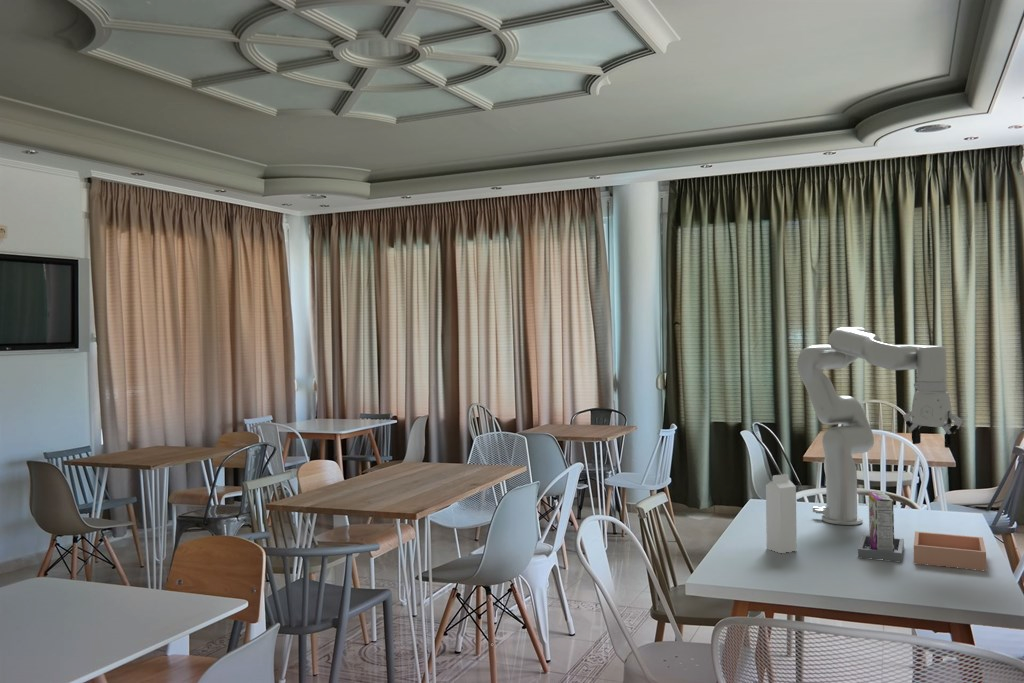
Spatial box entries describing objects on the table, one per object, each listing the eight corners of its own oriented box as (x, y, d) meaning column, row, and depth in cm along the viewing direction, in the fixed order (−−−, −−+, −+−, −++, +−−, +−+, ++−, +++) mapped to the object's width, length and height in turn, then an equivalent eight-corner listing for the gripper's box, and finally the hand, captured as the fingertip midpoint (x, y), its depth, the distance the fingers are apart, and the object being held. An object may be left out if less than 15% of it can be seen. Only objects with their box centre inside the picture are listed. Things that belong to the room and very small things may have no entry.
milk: (796, 551, 233) (796, 475, 233) (780, 554, 231) (780, 477, 231) (782, 546, 239) (781, 472, 239) (765, 548, 236) (765, 473, 236)
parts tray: (858, 557, 226) (857, 548, 226) (862, 543, 241) (862, 535, 241) (901, 562, 221) (901, 553, 221) (903, 547, 236) (903, 538, 236)
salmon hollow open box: (913, 563, 219) (913, 545, 219) (915, 548, 234) (915, 531, 234) (986, 571, 211) (986, 552, 211) (982, 555, 226) (982, 537, 226)
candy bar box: (868, 547, 237) (867, 491, 237) (886, 547, 236) (886, 491, 235) (875, 557, 226) (875, 499, 226) (895, 558, 225) (894, 499, 225)
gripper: (896, 386, 243) (897, 443, 243) (954, 389, 228) (954, 450, 228) (911, 385, 247) (911, 441, 247) (968, 388, 232) (969, 447, 232)
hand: (932, 445), depth 238 cm, fingers open, 9 cm apart
